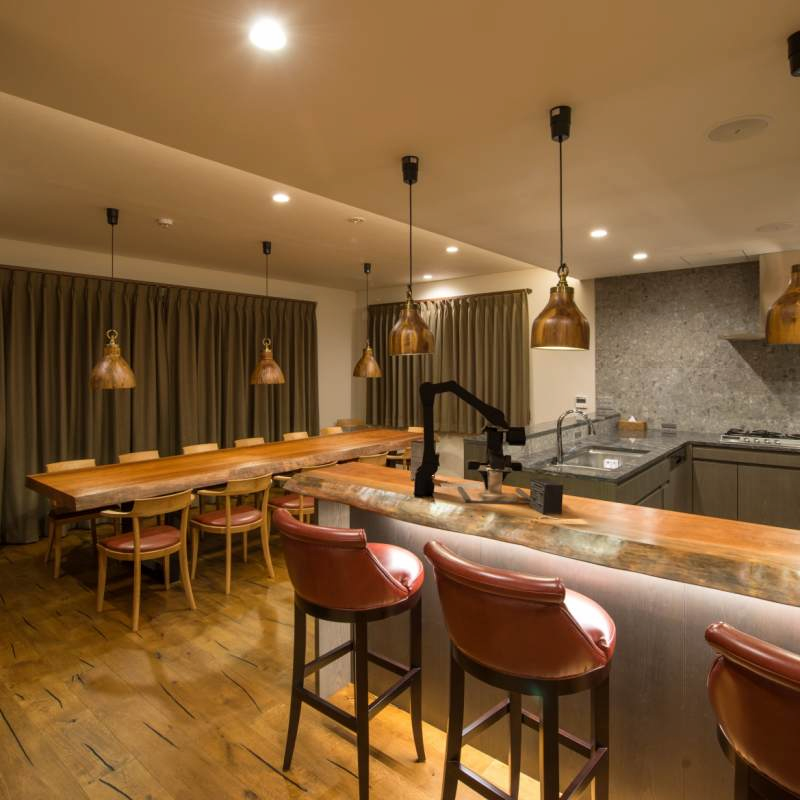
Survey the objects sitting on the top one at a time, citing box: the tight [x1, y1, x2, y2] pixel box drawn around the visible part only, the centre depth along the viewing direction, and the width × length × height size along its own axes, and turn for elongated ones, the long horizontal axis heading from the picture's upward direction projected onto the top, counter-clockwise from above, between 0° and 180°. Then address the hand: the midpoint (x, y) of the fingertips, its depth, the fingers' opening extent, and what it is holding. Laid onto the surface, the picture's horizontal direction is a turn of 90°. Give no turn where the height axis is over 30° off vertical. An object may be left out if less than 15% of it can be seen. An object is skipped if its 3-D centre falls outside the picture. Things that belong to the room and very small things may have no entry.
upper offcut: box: [478, 492, 520, 502], centre depth 170 cm, size 12×5×2 cm, turn 98°
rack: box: [456, 486, 530, 505], centre depth 176 cm, size 22×21×2 cm
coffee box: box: [410, 438, 437, 480], centre depth 213 cm, size 9×6×16 cm
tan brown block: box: [483, 468, 503, 493], centre depth 179 cm, size 4×10×10 cm, turn 1°
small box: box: [529, 477, 564, 518], centre depth 158 cm, size 11×6×10 cm, turn 9°
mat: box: [439, 482, 484, 490], centre depth 196 cm, size 16×14×1 cm
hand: (492, 490), depth 179 cm, fingers closed on tan brown block, 4 cm apart
